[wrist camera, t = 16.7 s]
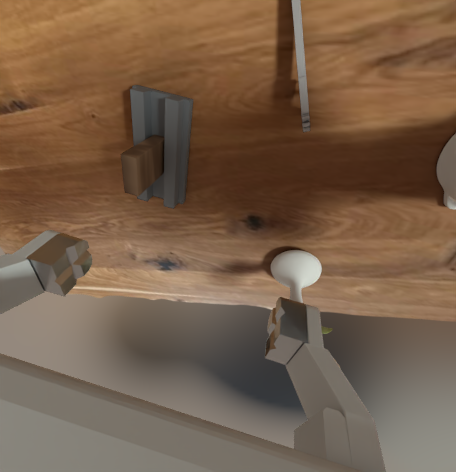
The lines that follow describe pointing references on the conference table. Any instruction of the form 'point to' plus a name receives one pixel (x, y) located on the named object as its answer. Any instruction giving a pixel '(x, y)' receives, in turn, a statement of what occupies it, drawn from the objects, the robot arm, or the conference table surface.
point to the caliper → (301, 64)
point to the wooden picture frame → (143, 164)
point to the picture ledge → (176, 138)
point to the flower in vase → (297, 273)
